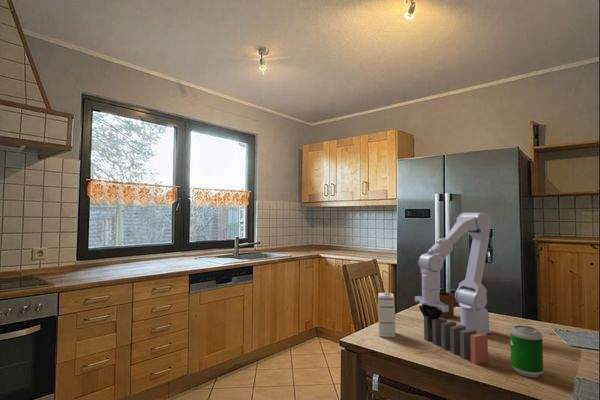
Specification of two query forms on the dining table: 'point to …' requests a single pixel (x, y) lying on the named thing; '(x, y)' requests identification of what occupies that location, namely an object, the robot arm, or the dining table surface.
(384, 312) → the syrup box
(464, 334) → the domino
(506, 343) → the dining table surface
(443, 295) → the mug
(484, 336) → the domino
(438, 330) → the domino
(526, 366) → the soda can
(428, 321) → the domino
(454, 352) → the domino
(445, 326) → the domino
